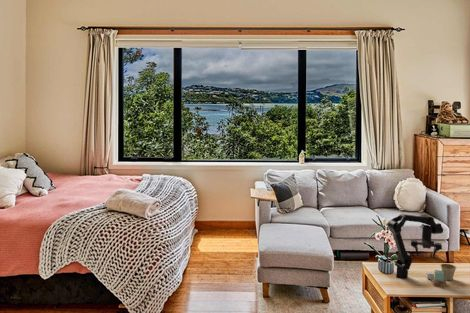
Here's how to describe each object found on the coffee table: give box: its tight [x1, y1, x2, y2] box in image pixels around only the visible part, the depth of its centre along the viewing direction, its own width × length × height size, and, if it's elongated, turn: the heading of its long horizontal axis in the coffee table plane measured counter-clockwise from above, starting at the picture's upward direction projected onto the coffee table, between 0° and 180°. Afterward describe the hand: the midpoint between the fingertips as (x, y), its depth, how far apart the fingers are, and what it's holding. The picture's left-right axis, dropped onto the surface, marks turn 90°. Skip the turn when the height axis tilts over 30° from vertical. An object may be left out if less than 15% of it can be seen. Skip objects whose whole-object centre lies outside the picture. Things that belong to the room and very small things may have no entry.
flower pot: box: [440, 263, 457, 281], centre depth 281 cm, size 9×9×9 cm
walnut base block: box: [431, 277, 447, 288], centre depth 272 cm, size 7×7×4 cm
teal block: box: [434, 269, 444, 281], centre depth 272 cm, size 5×5×5 cm
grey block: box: [424, 270, 435, 281], centre depth 282 cm, size 4×4×4 cm
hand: (425, 257), depth 287 cm, fingers open, 9 cm apart
